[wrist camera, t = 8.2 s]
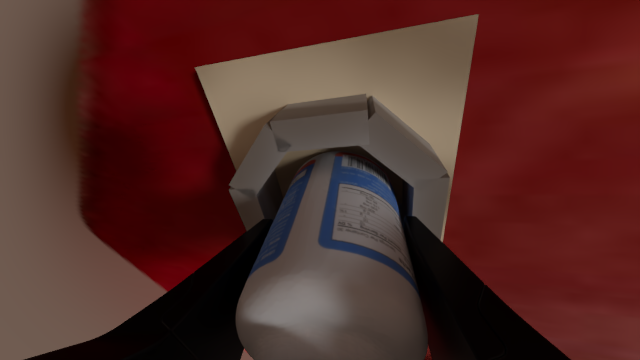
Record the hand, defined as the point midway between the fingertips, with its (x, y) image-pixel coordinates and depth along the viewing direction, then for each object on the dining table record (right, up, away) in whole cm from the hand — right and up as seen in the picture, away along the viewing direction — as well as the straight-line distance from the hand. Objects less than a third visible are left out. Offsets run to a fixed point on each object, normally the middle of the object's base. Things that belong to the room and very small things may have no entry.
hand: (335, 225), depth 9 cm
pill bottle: (+1, +1, +3) cm, 3 cm away
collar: (0, +2, +3) cm, 4 cm away
